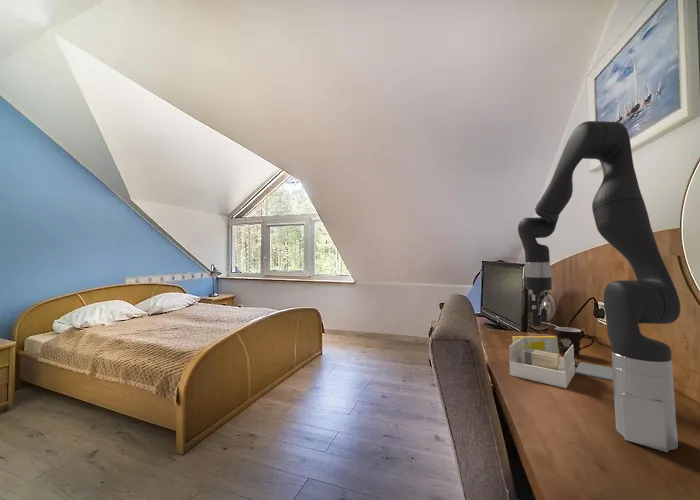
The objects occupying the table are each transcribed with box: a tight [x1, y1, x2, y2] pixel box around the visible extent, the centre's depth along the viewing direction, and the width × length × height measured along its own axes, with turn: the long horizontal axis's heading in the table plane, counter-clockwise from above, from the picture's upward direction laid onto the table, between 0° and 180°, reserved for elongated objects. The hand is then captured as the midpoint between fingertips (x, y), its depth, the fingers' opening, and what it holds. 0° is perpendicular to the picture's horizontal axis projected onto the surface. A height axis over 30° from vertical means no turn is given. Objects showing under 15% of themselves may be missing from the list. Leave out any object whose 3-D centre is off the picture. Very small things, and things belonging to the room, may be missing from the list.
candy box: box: [512, 335, 560, 355], centre depth 114 cm, size 16×2×8 cm, turn 84°
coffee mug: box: [554, 326, 595, 356], centre depth 115 cm, size 12×9×10 cm
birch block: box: [525, 349, 560, 371], centre depth 97 cm, size 4×9×7 cm, turn 45°
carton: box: [508, 337, 576, 389], centre depth 97 cm, size 16×15×10 cm
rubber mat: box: [574, 361, 613, 382], centre depth 97 cm, size 13×13×1 cm
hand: (540, 323), depth 98 cm, fingers open, 8 cm apart
